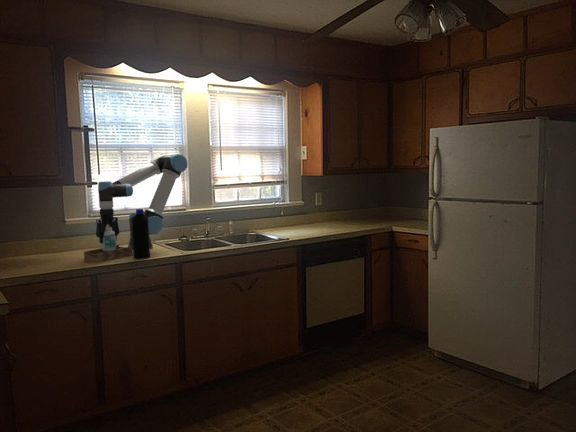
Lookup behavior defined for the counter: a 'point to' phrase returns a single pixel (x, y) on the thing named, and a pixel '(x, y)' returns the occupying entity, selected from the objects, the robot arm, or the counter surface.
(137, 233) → the bottle
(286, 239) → the counter surface
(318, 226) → the counter surface
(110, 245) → the pill bottle
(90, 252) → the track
